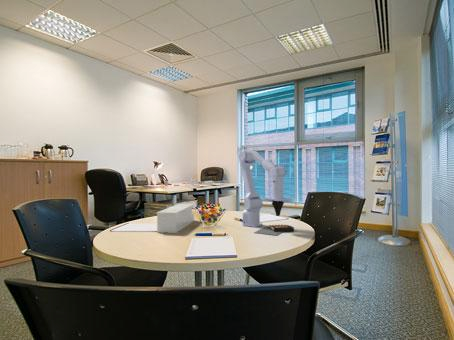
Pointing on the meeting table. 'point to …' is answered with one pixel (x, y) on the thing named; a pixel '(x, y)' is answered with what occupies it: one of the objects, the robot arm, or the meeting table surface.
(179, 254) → the meeting table surface
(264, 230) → the rubber mat
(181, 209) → the light grey rectangular block
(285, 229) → the ammunition clip
